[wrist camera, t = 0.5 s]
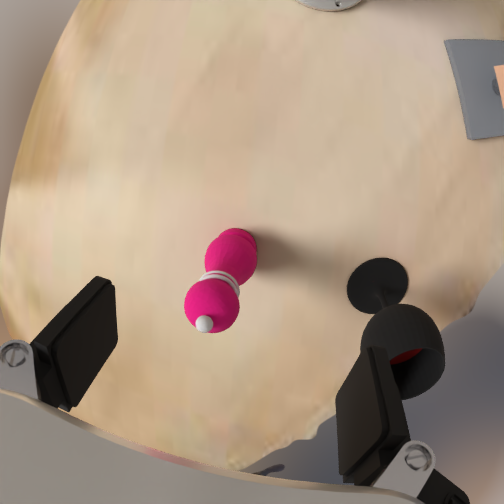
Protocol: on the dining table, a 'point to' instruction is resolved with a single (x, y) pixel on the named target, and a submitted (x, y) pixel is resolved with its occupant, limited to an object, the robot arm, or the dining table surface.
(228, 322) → the pepper mill
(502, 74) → the tan slotted box
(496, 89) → the post
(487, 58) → the stand
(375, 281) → the wine glass
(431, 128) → the dining table surface
